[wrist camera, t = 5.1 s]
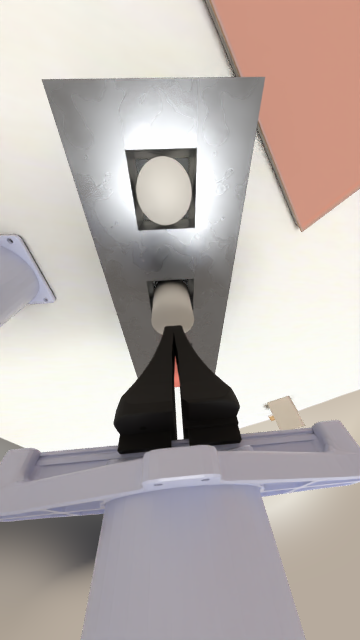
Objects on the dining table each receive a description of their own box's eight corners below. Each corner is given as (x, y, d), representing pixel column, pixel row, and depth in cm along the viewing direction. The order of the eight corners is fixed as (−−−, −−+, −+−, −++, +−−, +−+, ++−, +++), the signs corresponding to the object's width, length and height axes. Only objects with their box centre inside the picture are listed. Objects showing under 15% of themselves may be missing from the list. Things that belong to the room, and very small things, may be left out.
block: (141, 354, 30) (138, 379, 26) (79, 111, 13) (41, 79, 9) (208, 349, 31) (214, 373, 27) (235, 108, 13) (265, 76, 9)
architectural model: (290, 398, 46) (308, 429, 41) (265, 406, 48) (278, 437, 43) (287, 393, 45) (306, 425, 39) (261, 402, 47) (275, 433, 41)
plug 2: (156, 308, 20) (154, 338, 16) (151, 278, 18) (148, 304, 14) (188, 306, 20) (193, 335, 16) (188, 276, 18) (194, 301, 14)
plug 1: (146, 216, 17) (141, 226, 13) (139, 164, 14) (130, 157, 10) (185, 215, 17) (191, 224, 13) (184, 163, 15) (192, 155, 11)
